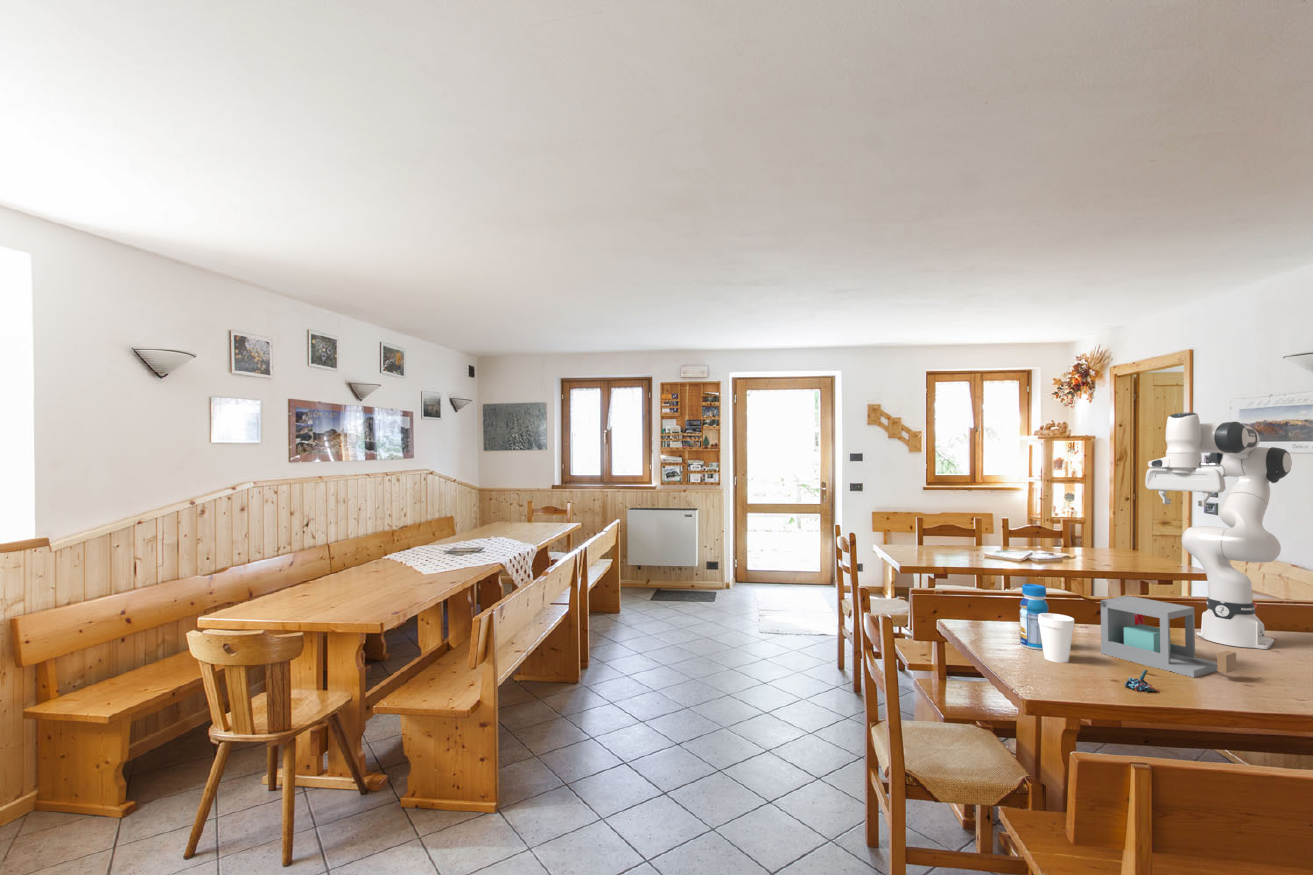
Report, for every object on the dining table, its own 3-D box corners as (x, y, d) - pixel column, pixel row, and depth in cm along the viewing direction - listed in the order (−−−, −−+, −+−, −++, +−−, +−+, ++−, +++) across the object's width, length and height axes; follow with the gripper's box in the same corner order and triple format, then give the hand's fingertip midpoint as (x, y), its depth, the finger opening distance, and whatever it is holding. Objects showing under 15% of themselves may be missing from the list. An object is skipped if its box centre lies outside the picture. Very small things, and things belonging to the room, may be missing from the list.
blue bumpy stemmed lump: (1130, 673, 173) (1146, 665, 167) (1154, 695, 169) (1171, 688, 163) (1111, 689, 171) (1127, 681, 165) (1136, 712, 167) (1152, 705, 161)
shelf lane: (1128, 647, 205) (1127, 595, 206) (1220, 669, 184) (1219, 611, 184) (1101, 653, 198) (1100, 600, 198) (1193, 677, 176) (1192, 617, 177)
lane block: (1140, 645, 199) (1140, 623, 199) (1239, 669, 177) (1238, 644, 178) (1124, 649, 195) (1123, 627, 195) (1223, 674, 173) (1222, 649, 173)
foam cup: (1071, 657, 194) (1071, 615, 194) (1077, 666, 185) (1077, 622, 186) (1036, 652, 198) (1036, 611, 198) (1040, 661, 189) (1040, 618, 190)
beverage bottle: (1039, 651, 199) (1039, 589, 200) (1014, 644, 206) (1013, 584, 207) (1055, 648, 203) (1054, 586, 203) (1029, 641, 210) (1029, 582, 211)
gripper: (1229, 462, 193) (1230, 507, 192) (1152, 462, 211) (1152, 503, 210) (1219, 462, 190) (1220, 508, 189) (1142, 462, 208) (1143, 503, 207)
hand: (1184, 505), depth 200 cm, fingers open, 8 cm apart
